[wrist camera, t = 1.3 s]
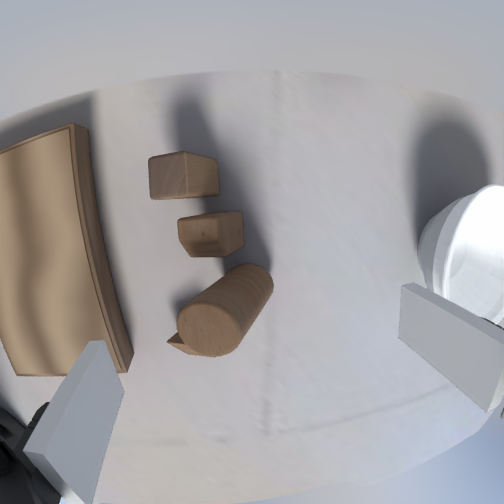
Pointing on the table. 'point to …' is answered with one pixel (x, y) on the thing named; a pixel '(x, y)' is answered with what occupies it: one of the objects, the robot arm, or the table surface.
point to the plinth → (54, 258)
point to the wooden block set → (210, 245)
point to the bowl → (467, 253)
